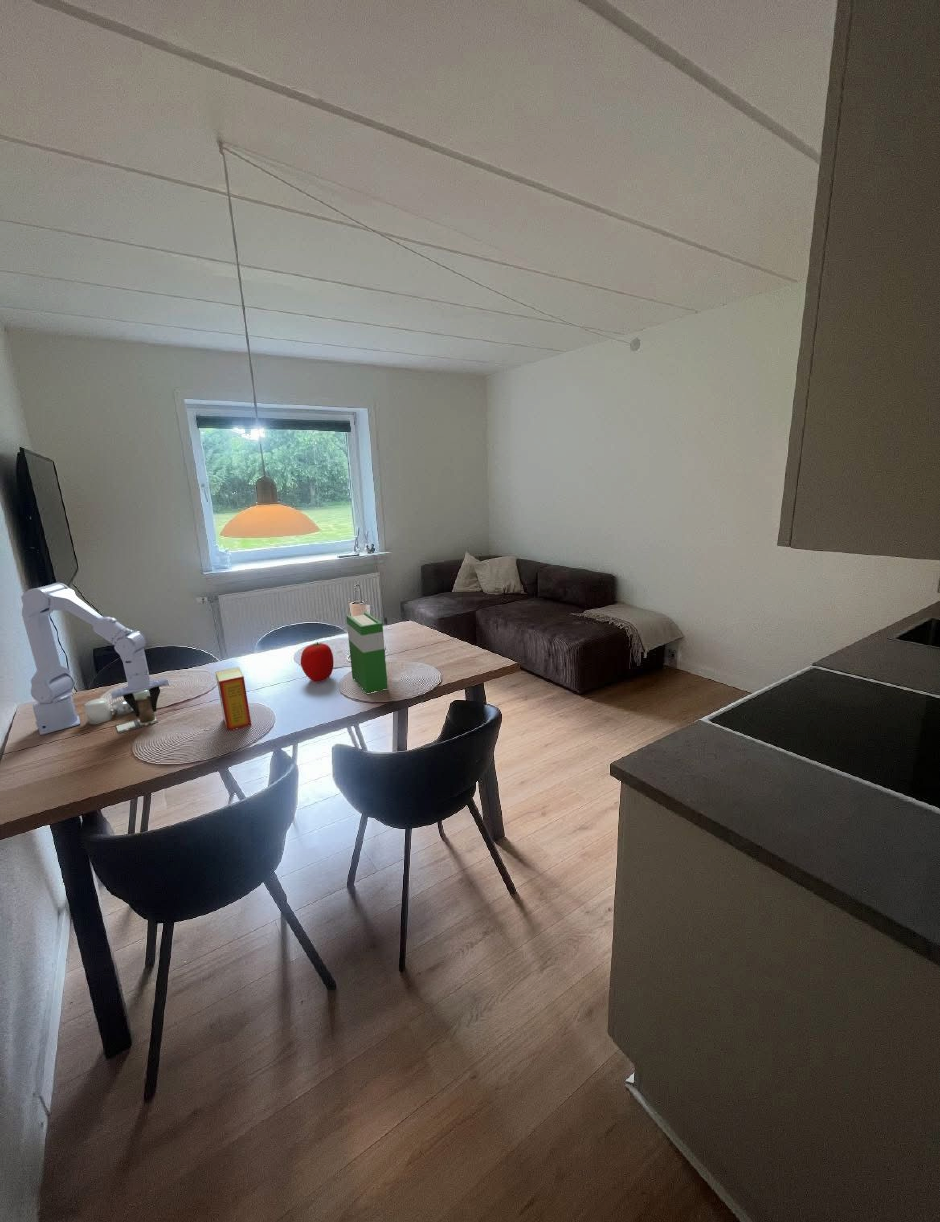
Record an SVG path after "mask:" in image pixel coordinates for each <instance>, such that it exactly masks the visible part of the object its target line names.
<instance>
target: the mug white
mask: <svg viewBox="0 0 940 1222" xmlns="http://www.w3.org/2000/svg"><path fill="white" fill-rule="evenodd" d="M84 709H85V712H86V718H87V720H88V724H90V725H100V724H102V723H106V722H108V721H110V720H112V719H113V714H112V709H111V705H110V701H109V698H107V697H106V698H105V697H101V698H95V699H92V700H89V701H87V702H85V704H84Z"/></svg>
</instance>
